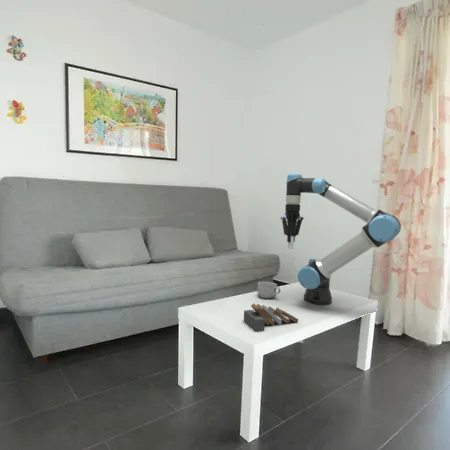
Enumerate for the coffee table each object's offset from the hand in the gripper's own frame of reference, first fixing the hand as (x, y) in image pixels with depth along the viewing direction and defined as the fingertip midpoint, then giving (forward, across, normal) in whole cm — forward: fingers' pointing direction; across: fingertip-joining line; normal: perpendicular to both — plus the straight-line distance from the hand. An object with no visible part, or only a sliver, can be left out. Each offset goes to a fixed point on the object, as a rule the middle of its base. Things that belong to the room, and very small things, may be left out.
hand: (290, 248), depth 178 cm
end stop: (+29, +32, +24) cm, 50 cm away
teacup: (+30, +6, -10) cm, 32 cm away
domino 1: (+29, +26, +24) cm, 46 cm away
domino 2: (+29, +24, +24) cm, 45 cm away
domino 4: (+29, +16, +24) cm, 41 cm away
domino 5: (+29, +12, +24) cm, 39 cm away
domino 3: (+29, +20, +24) cm, 43 cm away
